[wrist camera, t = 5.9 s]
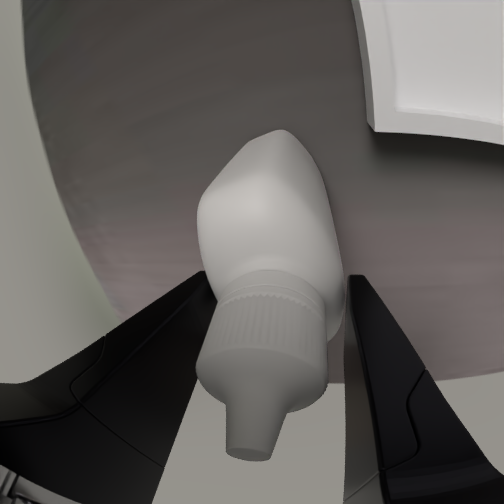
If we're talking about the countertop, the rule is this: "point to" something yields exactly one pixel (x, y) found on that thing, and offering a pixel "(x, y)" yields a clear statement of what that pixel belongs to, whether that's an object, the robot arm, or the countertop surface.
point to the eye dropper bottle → (268, 289)
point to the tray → (433, 66)
